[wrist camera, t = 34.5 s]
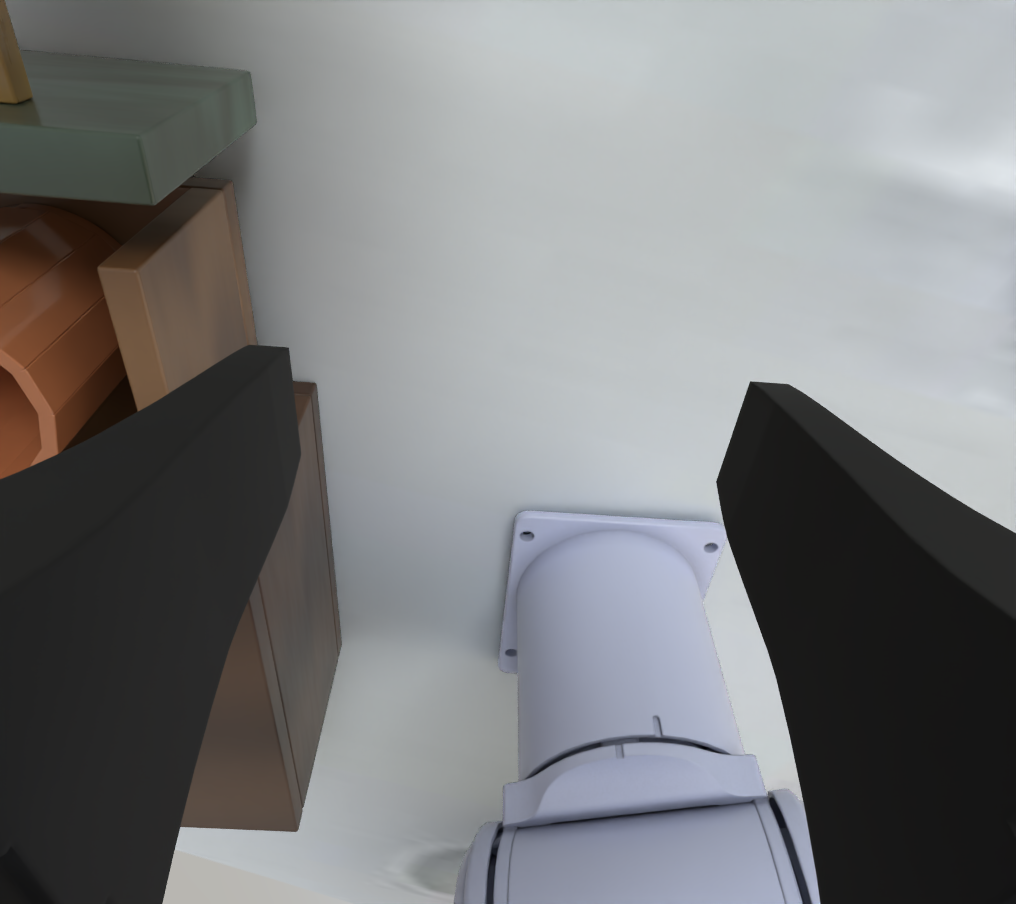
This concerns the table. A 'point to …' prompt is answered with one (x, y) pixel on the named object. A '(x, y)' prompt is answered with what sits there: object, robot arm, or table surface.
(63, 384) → the orange brown faceted cup
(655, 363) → the table surface
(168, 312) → the drawer
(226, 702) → the cabinet
